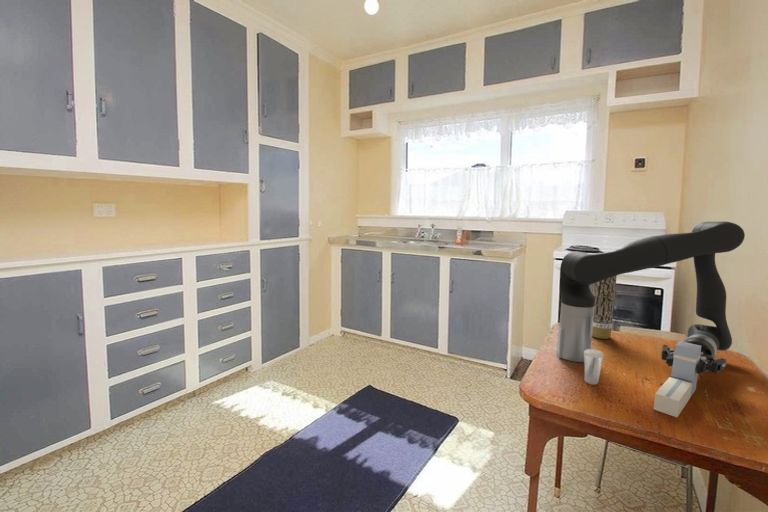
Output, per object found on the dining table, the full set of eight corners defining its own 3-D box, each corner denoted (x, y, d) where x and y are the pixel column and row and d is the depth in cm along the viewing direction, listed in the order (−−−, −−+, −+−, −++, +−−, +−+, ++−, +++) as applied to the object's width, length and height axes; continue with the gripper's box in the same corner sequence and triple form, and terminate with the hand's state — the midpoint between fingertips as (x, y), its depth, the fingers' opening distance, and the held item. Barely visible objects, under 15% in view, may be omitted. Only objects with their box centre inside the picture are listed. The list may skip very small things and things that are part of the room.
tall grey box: (674, 383, 102) (679, 340, 100) (696, 389, 99) (701, 345, 97) (669, 389, 99) (674, 345, 97) (691, 396, 95) (697, 350, 94)
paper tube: (585, 333, 141) (591, 267, 138) (602, 333, 142) (608, 267, 138) (597, 340, 135) (603, 270, 131) (615, 339, 135) (621, 270, 132)
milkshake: (598, 378, 105) (601, 343, 103) (602, 387, 100) (605, 350, 98) (579, 375, 106) (582, 341, 105) (583, 384, 101) (586, 348, 100)
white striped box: (669, 389, 98) (671, 374, 98) (691, 396, 95) (693, 380, 95) (653, 409, 89) (655, 392, 88) (677, 417, 86) (679, 400, 85)
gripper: (668, 330, 112) (652, 344, 101) (733, 344, 102) (723, 361, 90) (665, 354, 113) (649, 370, 102) (729, 370, 103) (719, 390, 92)
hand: (684, 366), depth 96 cm, fingers open, 5 cm apart
